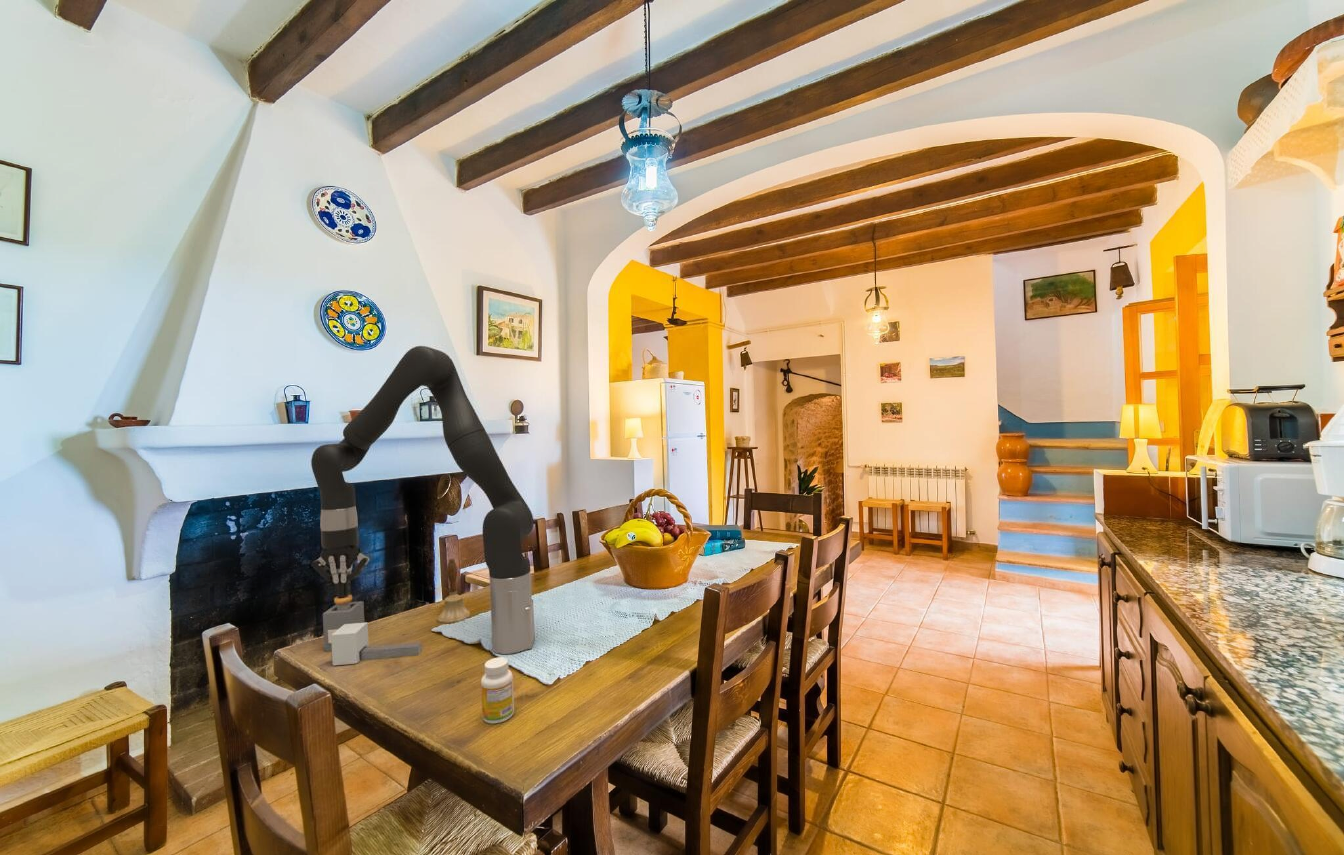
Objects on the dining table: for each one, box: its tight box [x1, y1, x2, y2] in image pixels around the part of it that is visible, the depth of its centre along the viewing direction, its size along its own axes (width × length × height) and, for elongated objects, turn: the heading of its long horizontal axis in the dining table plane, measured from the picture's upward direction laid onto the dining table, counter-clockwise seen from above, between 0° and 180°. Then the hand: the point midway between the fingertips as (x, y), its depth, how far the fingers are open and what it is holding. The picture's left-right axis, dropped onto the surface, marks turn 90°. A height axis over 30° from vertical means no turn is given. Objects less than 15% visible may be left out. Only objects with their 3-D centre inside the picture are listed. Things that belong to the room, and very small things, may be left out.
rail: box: [359, 641, 423, 661], centre depth 118 cm, size 18×2×2 cm, turn 98°
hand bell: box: [437, 558, 471, 624], centre depth 140 cm, size 8×8×16 cm
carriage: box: [331, 621, 370, 667], centre depth 117 cm, size 5×6×7 cm
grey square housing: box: [322, 600, 366, 653], centre depth 125 cm, size 6×7×9 cm
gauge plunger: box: [333, 594, 353, 611], centre depth 125 cm, size 4×4×5 cm
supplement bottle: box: [480, 656, 515, 725], centre depth 93 cm, size 5×5×10 cm
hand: (343, 597), depth 125 cm, fingers closed
